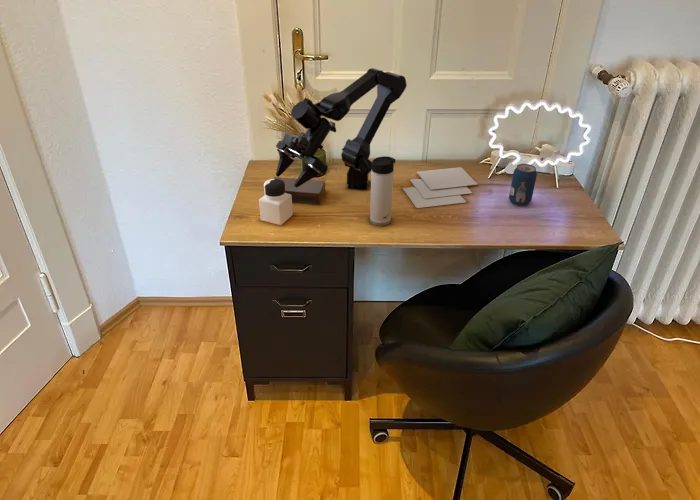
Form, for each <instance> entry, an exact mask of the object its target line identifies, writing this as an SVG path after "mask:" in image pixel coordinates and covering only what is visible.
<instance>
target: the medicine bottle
mask: <svg viewBox="0 0 700 500" xmlns="http://www.w3.org/2000/svg"><path fill="white" fill-rule="evenodd" d="M263 190H264V191H263V192H264V195H262V196H261V197H260V198H259V199H258V206H259V215H260V217H259V218H260V221H261V222H266V223H269V224H274V225H278V226H282V225H283V224H284V223H285V222H287V221H288V220H289V219H290V218H291V217H292V216H293V215H294V213H293V203H292V195H291V194H287V193H285V183H284V182H283V181H282V180H280V179H273V178H269V179H267V180H266V181H265V182H264V183H263Z"/></svg>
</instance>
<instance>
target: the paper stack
mask: <svg viewBox="0 0 700 500" xmlns="http://www.w3.org/2000/svg"><path fill="white" fill-rule="evenodd" d="M416 173H417V175H418V176H419V177H420V178H414V179H413V178H412V179H410V180H409V181H410V182H411V183H412V185H413V186H408V187H402V190H403V191H404V192H405V194H406V195H407V197H408V199H410V201H411V202H412V204H413V205H414V207H415V208H416V209H420V208H421V209H422V208H429V207H431V208H432V207H438V206H447V205H454V204H463V203H467V201H466V200H465V198H463V196H462V195H467V194H468V195H469V194H473V191H471V189H470V188H469V187H468V186H476V185H479V183H477V182H476V181H475V180H474V178H472V177H471V176H470V174H468V173H467V172H466V170H465V169H464V168H463V167H462V166H458V167H449V168H439V169H429V170H420V171H416Z"/></svg>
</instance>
